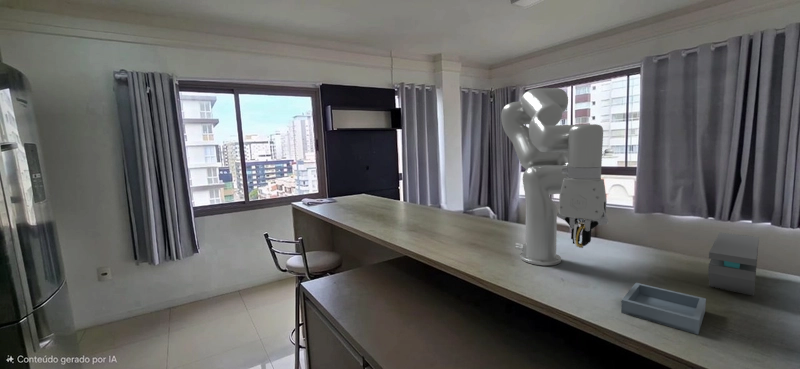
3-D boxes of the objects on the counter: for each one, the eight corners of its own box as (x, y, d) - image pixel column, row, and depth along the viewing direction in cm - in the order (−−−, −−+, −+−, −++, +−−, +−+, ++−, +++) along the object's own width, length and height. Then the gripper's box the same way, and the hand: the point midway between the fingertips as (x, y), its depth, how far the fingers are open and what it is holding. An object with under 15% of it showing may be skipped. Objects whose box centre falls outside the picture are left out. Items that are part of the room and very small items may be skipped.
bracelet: (580, 252, 83) (581, 221, 81) (568, 249, 85) (568, 219, 84) (593, 246, 87) (594, 216, 86) (580, 243, 89) (581, 214, 88)
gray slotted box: (752, 305, 76) (756, 259, 74) (706, 294, 81) (709, 252, 80) (755, 275, 92) (759, 237, 91) (717, 268, 98) (719, 232, 97)
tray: (621, 312, 74) (621, 299, 74) (635, 294, 83) (635, 282, 83) (698, 334, 65) (699, 320, 64) (705, 311, 73) (706, 298, 73)
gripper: (546, 173, 86) (544, 240, 89) (615, 177, 75) (610, 254, 78) (558, 170, 91) (555, 234, 94) (624, 174, 80) (619, 246, 83)
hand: (580, 243), depth 86 cm, fingers closed on bracelet, 1 cm apart
